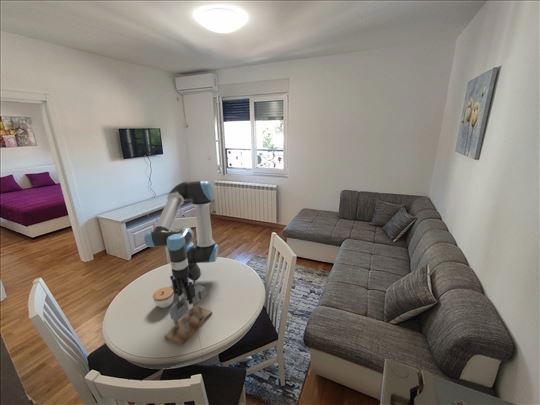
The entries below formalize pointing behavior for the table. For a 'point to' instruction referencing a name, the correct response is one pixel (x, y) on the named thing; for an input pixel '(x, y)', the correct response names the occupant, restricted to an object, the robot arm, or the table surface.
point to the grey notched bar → (181, 306)
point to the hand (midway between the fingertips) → (186, 307)
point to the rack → (188, 325)
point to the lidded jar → (163, 297)
